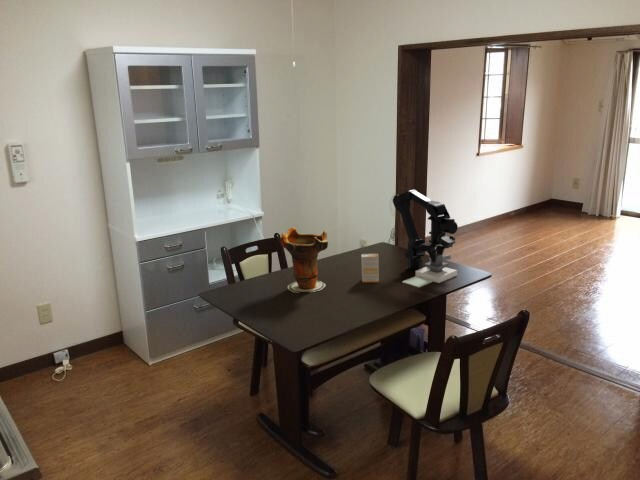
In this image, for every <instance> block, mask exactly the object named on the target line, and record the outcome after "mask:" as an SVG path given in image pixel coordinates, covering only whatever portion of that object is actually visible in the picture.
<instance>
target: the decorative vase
mask: <svg viewBox="0 0 640 480" xmlns="http://www.w3.org/2000/svg"><path fill="white" fill-rule="evenodd" d="M327 236H328V233H327V230H323V232H322V233H321V234H316V233H299V232H298V231H297V228H296V227H295V226H293V227H290V228H288V230H287V232H286V233H285V232H282V233H281V237H280V238H279V242H280V245H281V246H282V248H284V249H285V250H286V251H287V252H289V254H290V256H291V261H292V262H291V263H292V269H293V274H292V277H291V279H293V278H294V279H295V281H294V282H292V283H290V284H288V285H287V286H286V287H287V289H288V290H289V291H291V292H292V293H298V294H299V293H315V292H318V291H322V290H323V289H324V288H325V287H326V286H327V285H326V283H324V282H322V280H321V281H320V280H318V277H319V272H318V258H319V257H318V256H319V253H320V252H322V251H325V250H327V248H328V246H329V241H328V237H327Z"/></svg>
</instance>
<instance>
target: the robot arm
mask: <svg viewBox="0 0 640 480" xmlns="http://www.w3.org/2000/svg"><path fill="white" fill-rule="evenodd" d="M411 201H413V202H414V203H416V204H418V205H419V206H421V207H422V208H423V209H425V210H426V212H427V214H428V215H429V216H428V218H427V220H429V221H430V231H428V234H429V235H430V239H429V240H428V242H429V243H428V242H426V241H425V239H424V238H421V237H420V236H419V233H418V231H417V228H416V225H415V222H414V221H415V220H414V218H413V216H412V213H411V206H412V202H411ZM392 203H393V206H394V208H395V209H396V211H398V212H399V213H400V216H401V219H402V223H403V225H404V228H405V232H406V235H407V238H408V243H407V248H408V249H407V250H406V251H405V252H404V257H405V258H406V259H407V266H406V267H405V269H407V270H410V271H414V272H416V271H417V270H419V269H422V268H424V267H423V260H422V257H424V256H425V254H426V252H427V253H428V255H429V258H431V260H432V262H435V258H436V253H439V254H443V255H444V252H445V250H446V249H449V248H452V247H453V245H454V244H455V243H456V236H455V235H454V234H456V232H458V229H459V228H458V223H457V222H455V221H456V220H455V219H454V218H451V215H450V214H449V210H448V209H447V207H446V205H445V203H443V202H440V201H435V200H431V199H430V198H428V197H427V196H425V195H424V194H422V193H420V192H418V191H417V190H416V189H409V190H407V191H405V192H403V193H401V194H396V195H394V196H393V198H392ZM446 233H447V234H450V235H448V236H447V234H446Z"/></svg>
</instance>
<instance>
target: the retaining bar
mask: <svg viewBox="0 0 640 480" xmlns="http://www.w3.org/2000/svg"><path fill="white" fill-rule="evenodd" d="M451 258H452V255H451V254H446V255H443V261H448V260H451ZM428 262H431V258H430V257H429V258H428V261H427V263H428Z"/></svg>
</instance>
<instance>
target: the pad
mask: <svg viewBox="0 0 640 480" xmlns="http://www.w3.org/2000/svg"><path fill="white" fill-rule="evenodd" d="M401 282H402V284H406V285H410V286H413V287H414V288H415V287H416V288H419V289H420V288H421V287H424V286H427V285H429V284H430V283H433V282H434V281H431V280H427V279H424V278H420V277H417V276H413V277H410V278H407V279H405V280H403V281H401Z"/></svg>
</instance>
